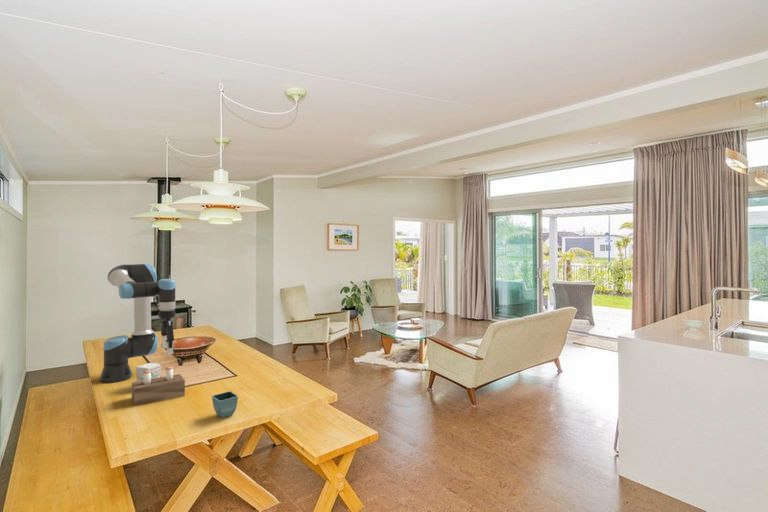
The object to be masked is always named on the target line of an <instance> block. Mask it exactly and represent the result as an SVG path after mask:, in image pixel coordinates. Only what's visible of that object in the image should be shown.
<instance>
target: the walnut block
mask: <svg viewBox="0 0 768 512" xmlns="http://www.w3.org/2000/svg"><path fill="white" fill-rule="evenodd" d="M185 388H186V381H185V378H184V377H183V376H182V375H181V374H179V373H178V374H173V380H170V381H166V375H165V376H161V377H159V378H153V379H151V384H147V385H143V380H142V381H136V380H135V381H132V382H131V399H132V403H133V405H134V406H135V407H136V406H141V405H145V404H150V403H155V402H156V403H157V402H160V401H165V400H170V399H171V400H172V399H175V398H180V397H185V395H186V389H185Z"/></svg>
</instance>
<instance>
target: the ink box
mask: <svg viewBox="0 0 768 512" xmlns="http://www.w3.org/2000/svg"><path fill="white" fill-rule="evenodd" d="M161 369H162V366H161V364H159V363H156V362H155V363H154V362H148V363H145V364H141V365H137V366H136V369H135V373H136V374H135V377H136V378H135V382H136V381H142V380H143V372H144V371H147V370H150V371H151V379H153V378H159V377H162V376H161V375H162V370H161Z"/></svg>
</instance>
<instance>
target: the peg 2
mask: <svg viewBox="0 0 768 512" xmlns="http://www.w3.org/2000/svg"><path fill="white" fill-rule="evenodd" d="M173 375H174V367H173V366H169V367H168V366H167V367H165V376H166V381H170V380H173Z"/></svg>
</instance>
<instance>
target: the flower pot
mask: <svg viewBox="0 0 768 512" xmlns="http://www.w3.org/2000/svg"><path fill="white" fill-rule="evenodd" d="M211 398H212V399H211V400H212V406H213V408H214V409H213V410H214V411H215V413H216V414H217V416H219V417H220V418H222V419H224V418H227V417H231V416H233V415H234V413H235V412H236V410H237V407H238V401H239V400H238V399H239V395H237V394H235V393H234V392H233V391H232V390H231V391H230V390H229V391H226V392H225V391H224V392H221V393H218V394H213V395H212V396H211Z"/></svg>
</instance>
